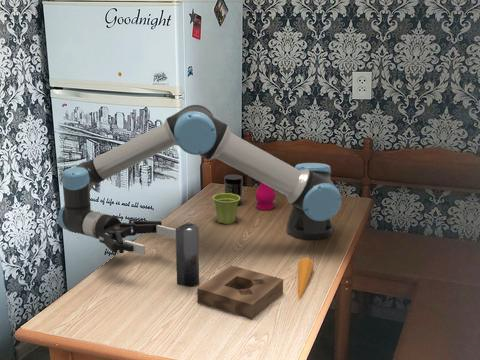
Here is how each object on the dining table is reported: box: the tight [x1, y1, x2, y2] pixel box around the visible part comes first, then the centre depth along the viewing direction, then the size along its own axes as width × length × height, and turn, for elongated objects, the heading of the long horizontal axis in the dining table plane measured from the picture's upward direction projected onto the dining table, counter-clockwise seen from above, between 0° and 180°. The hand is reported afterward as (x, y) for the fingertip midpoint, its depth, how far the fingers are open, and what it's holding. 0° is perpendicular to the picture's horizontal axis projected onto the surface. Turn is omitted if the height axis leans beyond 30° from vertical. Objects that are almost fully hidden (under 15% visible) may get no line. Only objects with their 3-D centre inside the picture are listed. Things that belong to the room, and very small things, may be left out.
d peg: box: [175, 222, 200, 288], centre depth 159 cm, size 5×5×16 cm
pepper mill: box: [255, 181, 276, 211], centre depth 217 cm, size 7×7×20 cm
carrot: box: [297, 257, 314, 300], centre depth 161 cm, size 20×4×4 cm, turn 169°
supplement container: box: [223, 173, 244, 206], centre depth 222 cm, size 7×7×10 cm
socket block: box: [196, 265, 284, 321], centre depth 153 cm, size 16×16×4 cm
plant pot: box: [212, 192, 240, 225], centre depth 205 cm, size 9×9×9 cm
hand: (160, 242), depth 163 cm, fingers open, 13 cm apart
